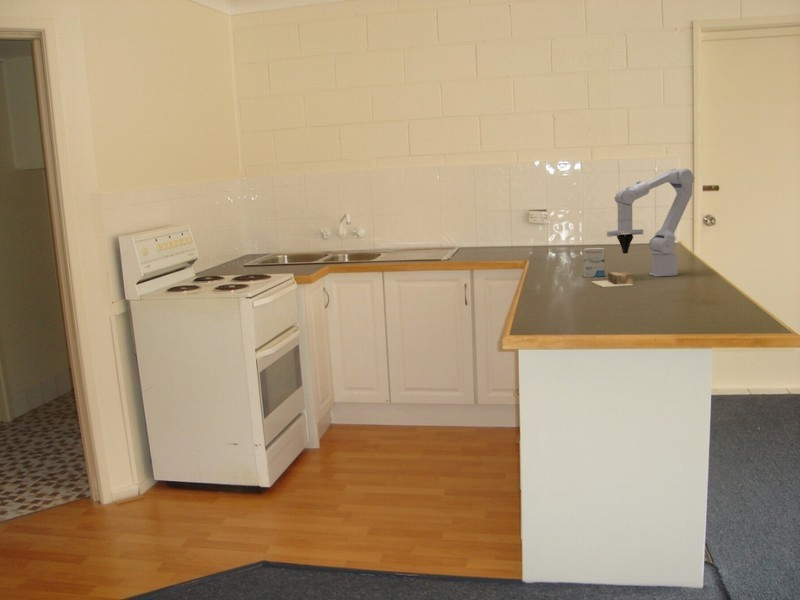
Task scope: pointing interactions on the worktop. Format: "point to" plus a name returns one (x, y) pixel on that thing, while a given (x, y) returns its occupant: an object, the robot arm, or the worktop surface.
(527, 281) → the worktop surface
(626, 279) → the oak slab
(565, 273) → the worktop surface
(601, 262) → the ink box
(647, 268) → the worktop surface
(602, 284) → the mat
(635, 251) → the worktop surface
